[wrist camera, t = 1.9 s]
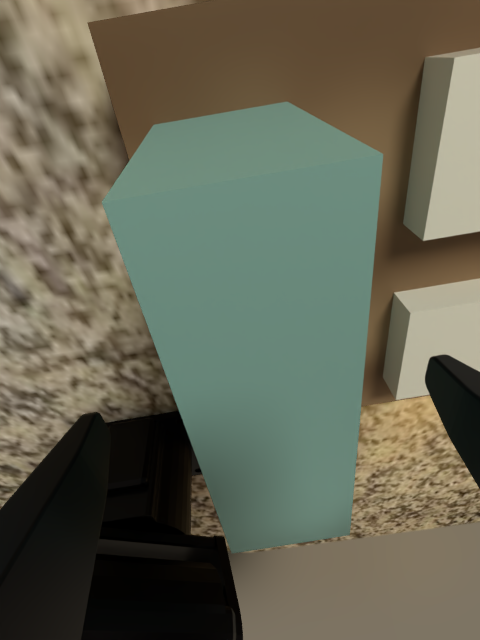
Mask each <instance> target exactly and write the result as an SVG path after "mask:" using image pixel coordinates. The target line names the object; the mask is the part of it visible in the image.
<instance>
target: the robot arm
mask: <svg viewBox="0 0 480 640" xmlns="http://www.w3.org/2000/svg"><path fill="white" fill-rule="evenodd" d="M425 384H426V387H427V390H428V392H429V394H430V396H431V398H432V401H433V403H434V405H435V407H436V409H437V412H438V414H439V416H440V418H441V420H442V423H443V425H444V427H445V429H446V431H447V433H448V435H449V437H450V439H451V441H452V443H453V445H454V446H455V448H456V450H457V451H458V453H459V455H460V456H461V458H462V460H463V461H464V463H465V465H466V467H467V468H468V470H469V472H470V473H471V475H472V477H473V478H474V480H475V482H476V483H477V485H478V487H479V488H480V372H479V371H477V370H475V369H474V368H472V367H470V366H468V365H466V364H464V363H462V362H461V361H459V360H457V359H455V358H453V357H451V356H449V355H446V354H443V355H437V356H432V357H430V359H429V361H428V365H427V370H426V374H425ZM199 474H202V471H201V469H200V466H199V463H198V461H197V458H196V455H195V452H194V450H193V447H192V444H191V442H190V439H189V436H188V434H187V431H186V428H185V425H184V423H183V420H182V417H181V415H180V412H179V411H176V412H170V413H164V414H158V415H151V416H145V417H139V418H133V419H127V420H121V421H115V422H109V423H105V421H104V420H103V418H102V416H101V415H100V413H98V412H93V413H87V414H83V415H82V416H81V417H80V418H79V419H78V420H77V421H76V422H75V423H74V425H73V426H72V427H71V428H70V429H69V430H68V432H67V433H66V434H65V435H64V436H63V437H62V439H61V440H60V441H59V442H58V443H57V444H56V445H55V447H54V448H53V449H52V450H51V451H50V452H49V454H48V455H47V456H46V457H45V458H44V459H43V460H42V462H41V463H40V464H39V465H38V466H37V467H36V469H35V470H34V471H33V472H32V473H31V474H30V476H29V477H28V478H27V479H26V480H25V481H24V482H23V484H22V485H21V486H20V487H19V488H18V489H17V491H16V492H15V493H14V494H13V495H12V496H11V497H10V499H9V500H8V501H7V502H6V503H5V504H4V506H3V507H2V508H1V509H0V640H243V631H242V621H241V614H240V608H239V604H238V599H237V595H236V590H235V585H234V580H233V576H232V571H231V566H230V561H229V557H228V552H227V547H226V543H225V538H224V537H223V536H214V537H206V536H196V535H190V531H191V484H192V476H193V475H199Z"/></svg>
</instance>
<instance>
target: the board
mask: <svg viewBox="0 0 480 640" xmlns="http://www.w3.org/2000/svg"><path fill="white" fill-rule="evenodd" d="M88 26H89V29H90V32H91V36H92V39H93V42H94V46H95V49H96V52H97V55H98V59H99V62H100V65H101V69H102V72H103V75H104V79H105V82H106V85H107V88H108V92H109V95H110V98H111V102H112V105H113V108H114V111H115V115H116V118H117V121H118V125H119V128H120V131H121V134H122V138H123V141H124V144H125V148H126V151H127V154H128V158H129V161H130V159H131V158H132V156H133V155H134V153H135V152H136V150H137V149H138V147H139V146H140V144H141V143H142V141H143V140H144V138H145V137H146V135H147V134H148V132H149V131H150V129H151V128H152V126H153V125H155V124H161V123H167V122H173V121H178V120H184V119H190V118H196V117H201V116H207V115H213V114H219V113H224V112H230V111H236V110H242V109H247V108H253V107H259V106H265V105H270V104H276V103H282V102H289V103H291V104H293V105H294V106H296V107H298V108H300V109H302V110H304V111H305V112H307V113H309V114H311V115H313V116H315V117H316V118H318V119H320V120H322V121H324V122H326V123H327V124H329V125H331V126H333V127H335V128H337V129H338V130H340V131H342V132H344V133H346V134H348V135H349V136H351V137H353V138H355V139H357V140H359V141H360V142H362V143H364V144H366V145H368V146H369V147H371V148H373V149H375V150H377V151H379V152H380V153H382V154H383V163H382V175H381V186H380V197H379V209H378V220H377V231H376V243H375V254H374V265H373V277H372V288H371V299H370V311H369V322H368V333H367V345H366V356H365V367H364V379H363V390H362V401H361V406H367V405H373V404H379V403H385V402H391V401H398V400H395V398H394V396H393V394H392V393H391V391H390V389H389V387H388V385H387V384H386V382H385V380H384V378H383V371H384V364H385V356H386V348H387V341H388V333H389V326H390V318H391V311H392V303H393V296H394V293H395V292H401V291H407V290H413V289H419V288H425V287H431V286H437V285H443V284H449V283H455V282H461V281H467V280H473V279H479V278H480V231H479V232H473V233H467V234H461V235H455V236H449V237H443V238H437V239H432V240H426V241H423V240H421V239H420V238H419V237H418V236H417V235H416V234H414V233H413V232H412V231H411V230H410V229H408V228H407V227H406V226H405V225H404V224H403V220H404V213H405V205H406V198H407V190H408V183H409V175H410V167H411V160H412V152H413V145H414V137H415V130H416V122H417V115H418V107H419V100H420V92H421V84H422V77H423V69H424V62H425V57H429V56H435V55H441V54H446V53H452V52H458V51H464V50H469V49H475V48H480V0H212V1H207V2H201V3H195V4H190V5H184V6H179V7H173V8H167V9H162V10H156V11H150V12H145V13H139V14H134V15H128V16H122V17H117V18H111V19H106V20H100V21H94V22H89V23H88ZM424 396H428V395H424ZM418 397H422V396H418ZM412 398H416V397H412ZM406 399H410V398H406ZM399 400H404V399H399Z"/></svg>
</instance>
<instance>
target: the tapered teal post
mask: <svg viewBox="0 0 480 640" xmlns="http://www.w3.org/2000/svg"><path fill="white" fill-rule="evenodd" d="M382 163H383V154H382V153H380V152H379V151H377V150H375V149H373V148H371V147H369V146H368V145H366V144H364V143H362V142H360V141H359V140H357V139H355V138H353V137H351V136H349V135H348V134H346V133H344V132H342V131H340V130H338V129H337V128H335V127H333V126H331V125H329V124H327V123H326V122H324V121H322V120H320V119H318V118H316V117H315V116H313V115H311V114H309V113H307V112H305V111H304V110H302V109H300V108H298V107H296V106H294V105H293V104H291V103H289V102H282V103H276V104H270V105H265V106H259V107H253V108H247V109H242V110H236V111H230V112H224V113H219V114H213V115H207V116H201V117H196V118H190V119H184V120H178V121H173V122H167V123H161V124H155V125H153V126H152V128H151V129H150V131H149V132H148V134H147V135H146V137H145V138H144V140H143V141H142V143H141V144H140V146H139V147H138V149H137V150H136V152H135V153H134V155H133V156H132V158H131V159H130V161H129V162H128V164H127V165H126V167H125V168H124V170H123V171H122V173H121V174H120V176H119V177H118V179H117V180H116V182H115V183H114V185H113V186H112V188H111V189H110V191H109V192H108V194H107V195H106V197H105V198H104V200H103V201H102V204H103V207H104V210H105V212H106V215H107V218H108V220H109V223H110V226H111V228H112V231H113V234H114V237H115V239H116V242H117V245H118V247H119V250H120V253H121V255H122V258H123V261H124V263H125V266H126V269H127V272H128V274H129V277H130V280H131V282H132V285H133V288H134V290H135V293H136V296H137V299H138V301H139V304H140V307H141V309H142V312H143V315H144V317H145V320H146V323H147V326H148V328H149V331H150V334H151V336H152V339H153V342H154V344H155V347H156V350H157V353H158V355H159V358H160V361H161V363H162V366H163V369H164V371H165V374H166V377H167V380H168V382H169V385H170V388H171V390H172V393H173V396H174V398H175V401H176V404H177V407H178V409H179V412H180V415H181V417H182V420H183V423H184V425H185V428H186V431H187V434H188V436H189V439H190V442H191V444H192V447H193V450H194V452H195V455H196V458H197V461H198V463H199V466H200V469H201V471H202V474H203V477H204V479H205V482H206V485H207V488H208V490H209V493H210V496H211V498H212V501H213V504H214V506H215V509H216V512H217V515H218V517H219V520H220V523H221V525H222V528H223V531H224V533H225V536H226V539H227V542H228V544H229V547H230V550H231V552H232V553H238V552H245V551H251V550H257V549H264V548H270V547H276V546H283V545H289V544H295V543H302V542H308V541H314V540H321V539H327V538H333V537H340V536H346V535H350V526H351V515H352V503H353V492H354V481H355V469H356V458H357V447H358V435H359V424H360V413H361V401H362V390H363V379H364V367H365V356H366V345H367V333H368V322H369V311H370V299H371V288H372V277H373V265H374V254H375V243H376V231H377V220H378V209H379V197H380V186H381V175H382Z"/></svg>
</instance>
